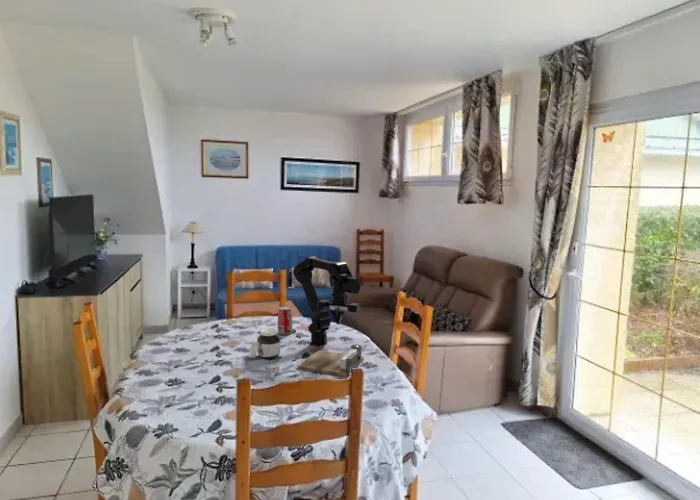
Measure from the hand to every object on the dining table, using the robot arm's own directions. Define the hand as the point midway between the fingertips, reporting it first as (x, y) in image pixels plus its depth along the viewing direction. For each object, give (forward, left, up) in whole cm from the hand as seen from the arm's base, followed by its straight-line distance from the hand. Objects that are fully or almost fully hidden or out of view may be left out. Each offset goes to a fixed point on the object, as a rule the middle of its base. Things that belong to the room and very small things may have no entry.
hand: (338, 324), depth 223 cm
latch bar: (+12, -16, -10) cm, 23 cm away
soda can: (-34, +13, -12) cm, 38 cm away
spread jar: (-26, -21, -12) cm, 36 cm away
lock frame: (+4, -17, -12) cm, 21 cm away
